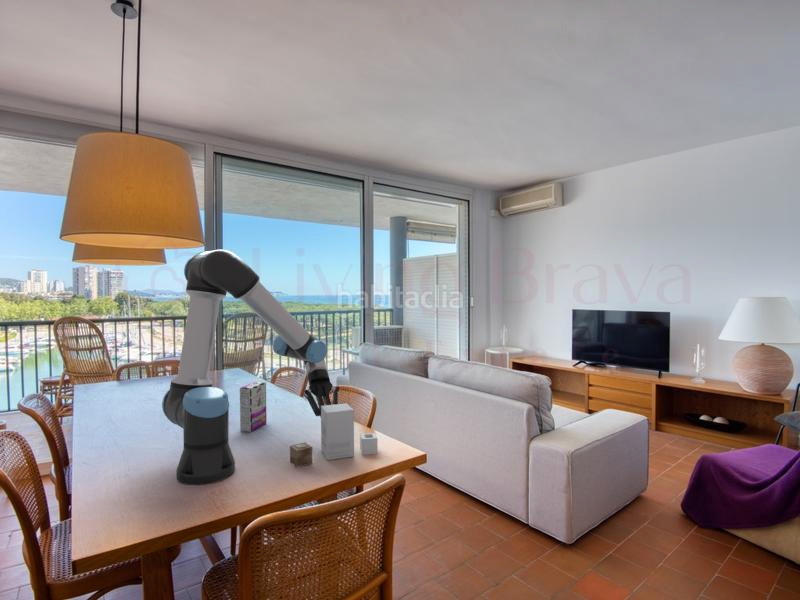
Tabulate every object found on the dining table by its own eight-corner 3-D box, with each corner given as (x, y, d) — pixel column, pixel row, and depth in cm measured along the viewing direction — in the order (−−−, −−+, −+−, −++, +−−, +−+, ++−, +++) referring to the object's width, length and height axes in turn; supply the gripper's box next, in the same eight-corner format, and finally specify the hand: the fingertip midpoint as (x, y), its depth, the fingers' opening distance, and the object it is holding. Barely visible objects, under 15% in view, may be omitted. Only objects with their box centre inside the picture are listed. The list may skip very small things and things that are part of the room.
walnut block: (296, 467, 126) (296, 449, 126) (289, 461, 130) (290, 445, 130) (312, 463, 129) (312, 446, 129) (305, 458, 133) (305, 441, 133)
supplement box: (347, 447, 142) (347, 402, 142) (354, 456, 134) (354, 409, 134) (320, 450, 139) (320, 405, 139) (325, 460, 131) (326, 412, 130)
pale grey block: (361, 454, 136) (361, 438, 136) (360, 449, 141) (360, 433, 141) (377, 453, 137) (377, 437, 137) (375, 448, 142) (375, 432, 142)
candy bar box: (255, 422, 168) (255, 381, 168) (266, 423, 167) (266, 381, 167) (239, 431, 157) (239, 387, 157) (251, 432, 156) (251, 388, 156)
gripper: (332, 378, 161) (347, 435, 147) (297, 381, 155) (309, 441, 141) (336, 366, 157) (352, 424, 142) (301, 369, 151) (314, 429, 136)
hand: (331, 432), depth 142 cm, fingers closed
